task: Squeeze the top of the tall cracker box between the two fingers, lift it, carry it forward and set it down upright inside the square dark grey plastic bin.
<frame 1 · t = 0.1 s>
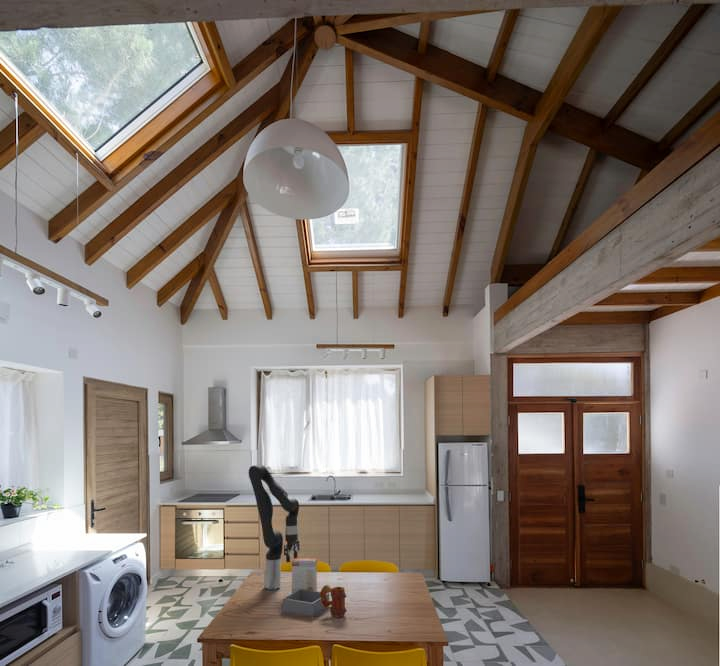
hand: (291, 560, 341), 17 cm above the table, tool pointing down, fingers open, 8 cm apart
mug: (333, 616, 298), on the table
bin: (306, 609, 307), on the table
cracker box: (304, 596, 328), on the table
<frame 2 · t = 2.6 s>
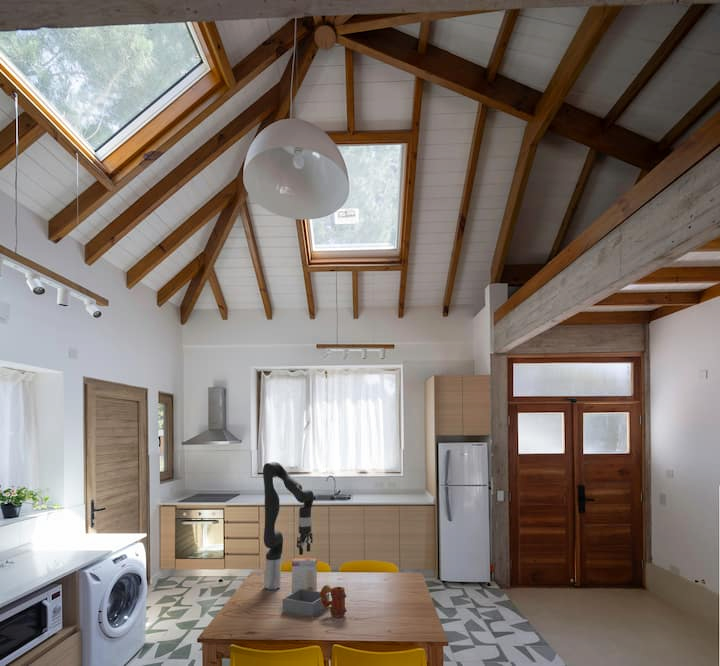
hand: (304, 553, 332), 24 cm above the table, tool pointing down, fingers open, 8 cm apart
nothing on the table moved.
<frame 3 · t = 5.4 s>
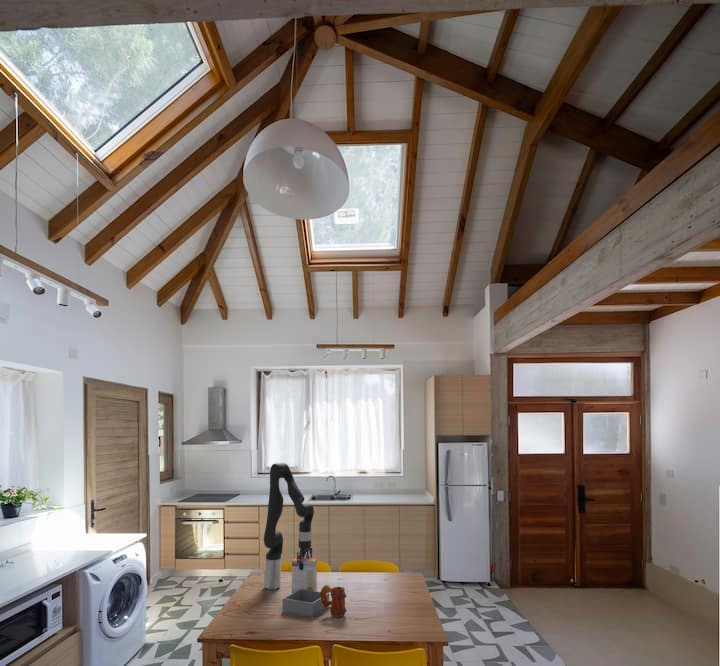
hand: (304, 568, 330), 16 cm above the table, tool pointing down, fingers closed on cracker box, 7 cm apart
cracker box: (304, 596, 328), on the table, touching gripper
everything else where it was.
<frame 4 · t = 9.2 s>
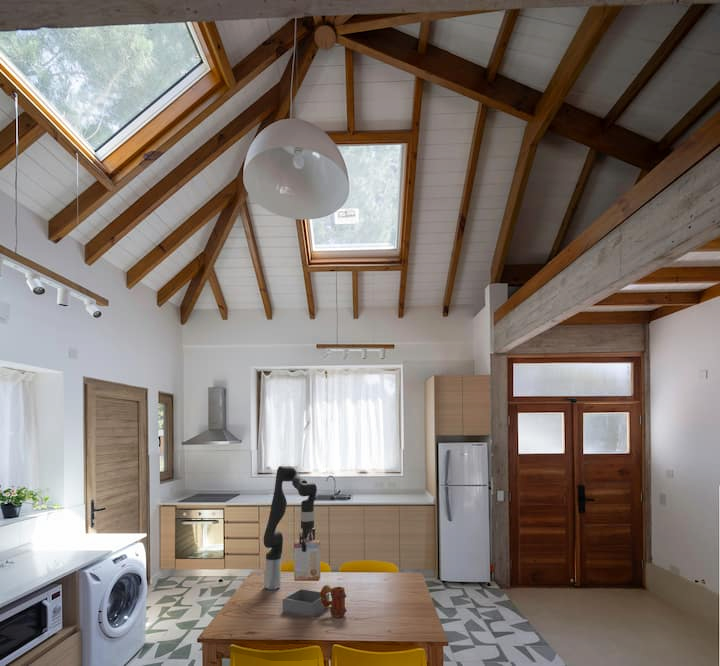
hand: (307, 550, 314), 30 cm above the table, tool pointing down, fingers closed on cracker box, 7 cm apart
cracker box: (307, 580, 312), point 14 cm above the table, touching gripper
everything else where it was.
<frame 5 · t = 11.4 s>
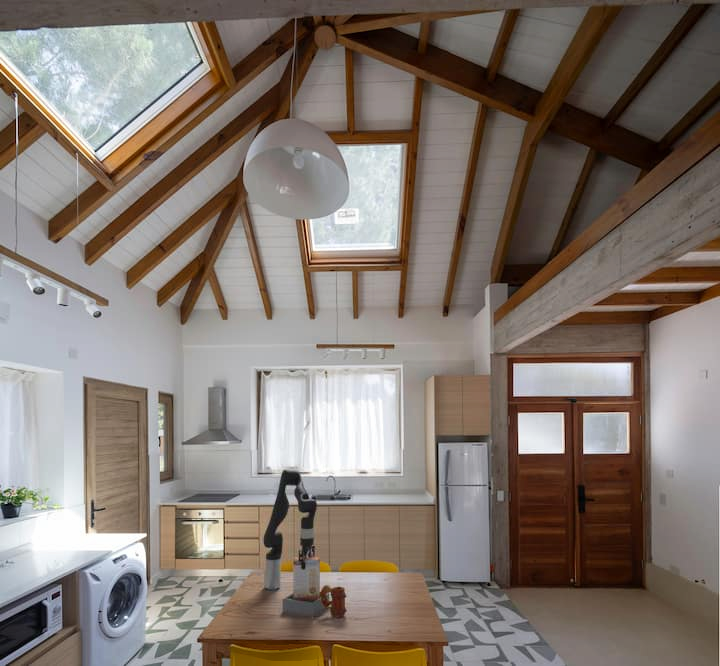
hand: (306, 567, 310), 22 cm above the table, tool pointing down, fingers closed on cracker box, 7 cm apart
cracker box: (306, 597, 308), point 6 cm above the table, touching gripper
everything else where it was.
when the fingers open (18 cm above the table, at t = 13.4 s): cracker box drops 1 cm, resting on bin.
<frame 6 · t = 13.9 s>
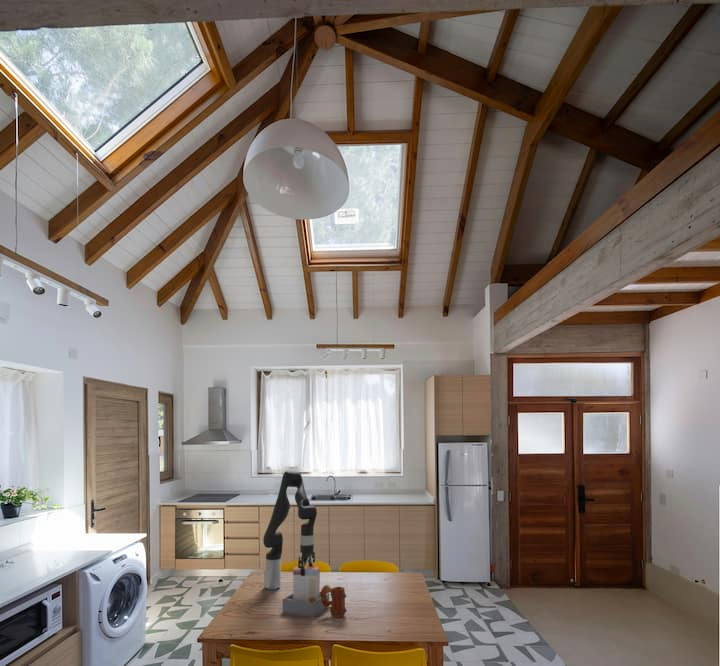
hand: (306, 573, 310), 19 cm above the table, tool pointing down, fingers open, 8 cm apart
cracker box: (306, 607, 307), point 1 cm above the table, touching bin
everything else where it was.
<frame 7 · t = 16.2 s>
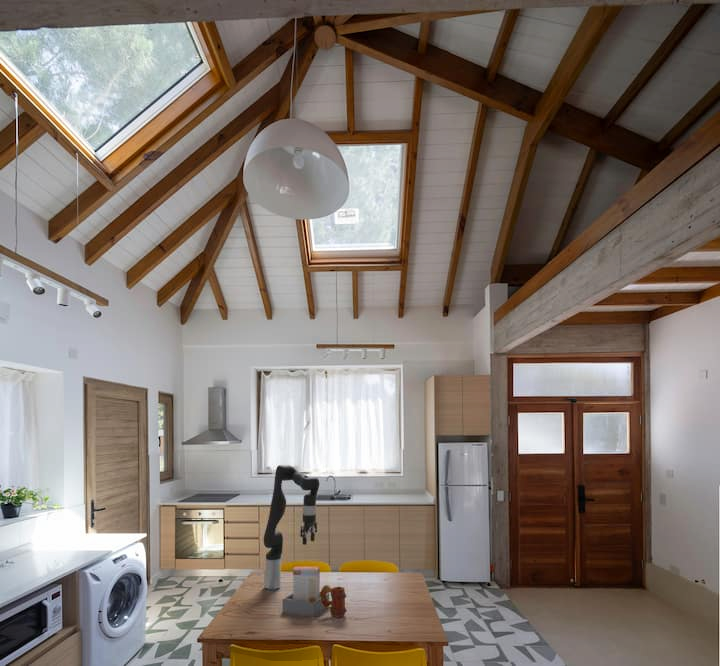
hand: (308, 542, 318), 34 cm above the table, tool pointing down, fingers open, 8 cm apart
nothing on the table moved.
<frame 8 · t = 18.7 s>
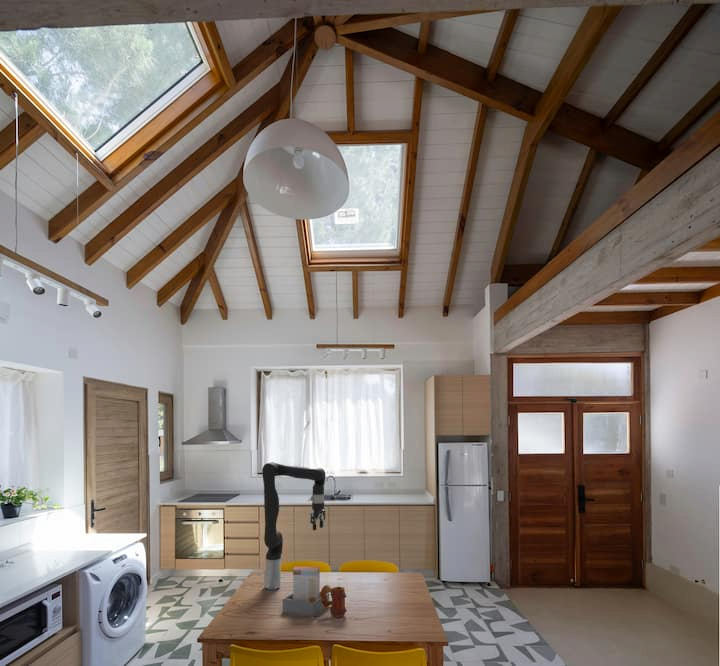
hand: (317, 528, 343), 36 cm above the table, tool pointing down, fingers open, 8 cm apart
nothing on the table moved.
at the end: cracker box inside the target area on the bin (0.1 cm from its centre), point 0.8 cm above the bin's base; cracker box tilted 0°; the gripper is holding nothing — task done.
